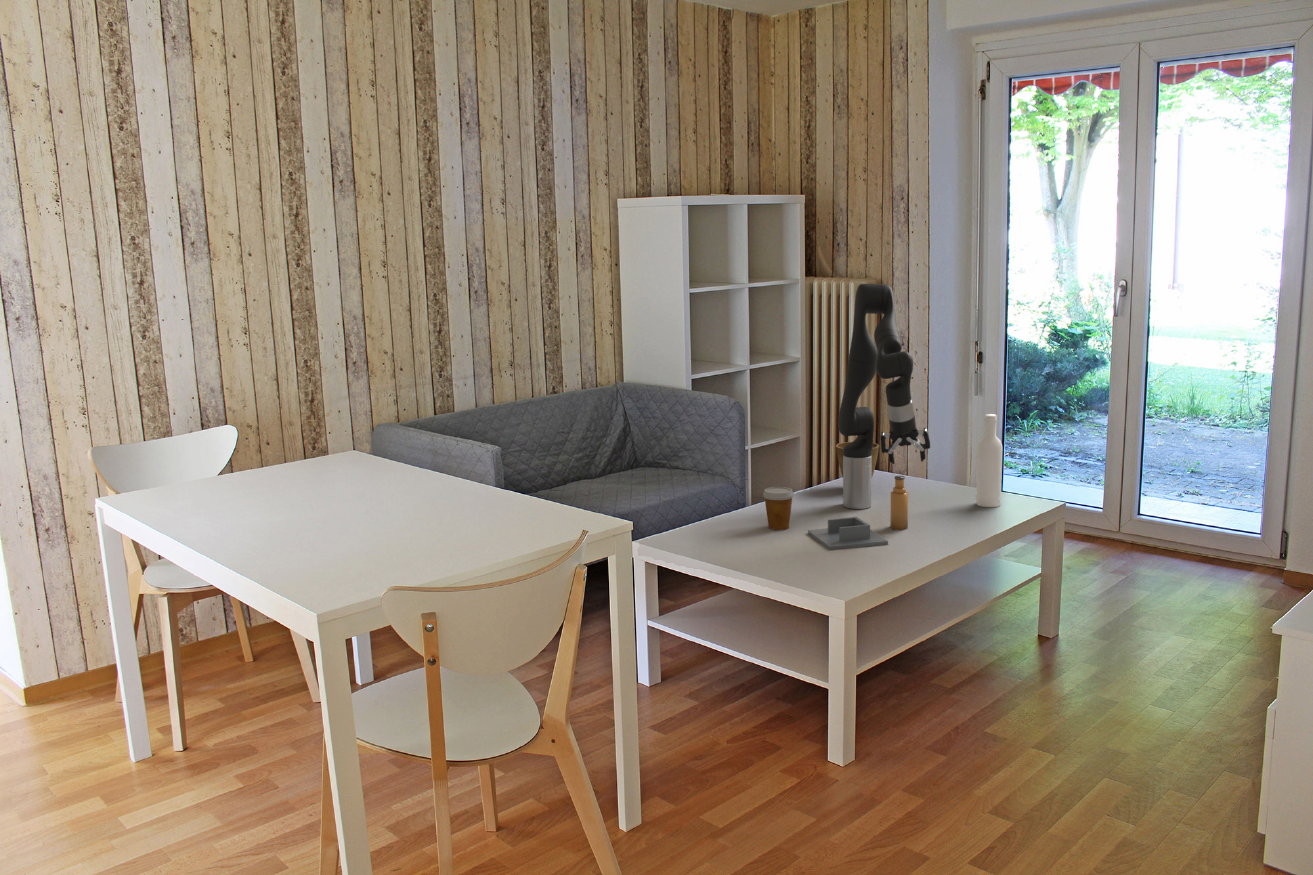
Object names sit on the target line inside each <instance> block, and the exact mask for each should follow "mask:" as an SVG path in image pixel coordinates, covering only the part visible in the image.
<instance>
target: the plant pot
mask: <svg viewBox="0 0 1313 875" xmlns="http://www.w3.org/2000/svg"><path fill="white" fill-rule="evenodd" d="M852 442H853V441H847V442H840V443H837V444H836V445H835V447H836V455H837V461H838V467H839V469H840V473H841V477H842V478H843V449H844V447H845V446H846V445H848V444H850V443H852ZM879 448H880V445H879V444H877V443H876V442H873V448H872V477H874V473H875V468H876V465H877V461H878V454H879Z"/></svg>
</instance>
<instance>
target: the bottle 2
mask: <svg viewBox="0 0 1313 875" xmlns="http://www.w3.org/2000/svg"><path fill="white" fill-rule="evenodd" d="M997 417H998V416H997V414H994V413H988V414H985V415H984V419H983V420H984V436H983V437H981V439H979V441H978V443H977V447H976V448H977V451H976V452H977V454H976V494H975V505H976V506H978V507H982V508H998V507H1000V506H1001V505H1002V503H1001V502H1002V480H1003V479H1002V477H1003V475H1002V474H1003V473H1002V472H1003V450H1004V449H1003V444H1002V440H1001V439H1000V438H999V437H998V436H997V421H998V418H997Z"/></svg>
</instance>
